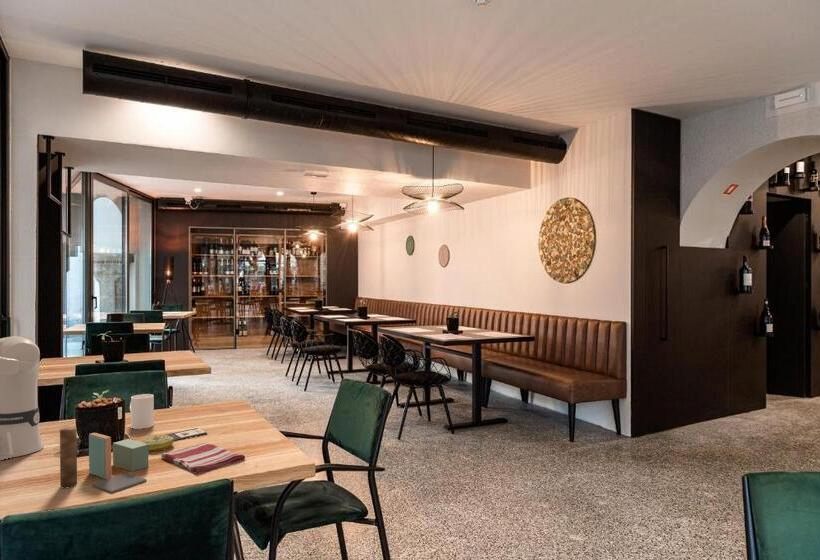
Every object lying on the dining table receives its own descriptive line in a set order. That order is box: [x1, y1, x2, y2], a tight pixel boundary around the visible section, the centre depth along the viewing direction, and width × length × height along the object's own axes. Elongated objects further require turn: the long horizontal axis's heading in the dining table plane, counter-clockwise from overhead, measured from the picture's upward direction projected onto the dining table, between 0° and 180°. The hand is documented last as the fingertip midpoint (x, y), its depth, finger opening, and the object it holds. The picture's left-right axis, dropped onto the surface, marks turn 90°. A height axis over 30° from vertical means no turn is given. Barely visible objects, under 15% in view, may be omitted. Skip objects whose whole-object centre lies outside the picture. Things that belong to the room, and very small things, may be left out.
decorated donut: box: [140, 434, 175, 453], centre depth 185 cm, size 10×11×4 cm
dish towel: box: [160, 442, 246, 475], centre depth 173 cm, size 17×23×3 cm
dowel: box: [59, 426, 78, 489], centre depth 152 cm, size 4×4×16 cm
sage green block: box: [112, 438, 149, 472], centre depth 167 cm, size 5×11×7 cm, turn 58°
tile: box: [88, 432, 112, 480], centre depth 159 cm, size 2×9×12 cm, turn 58°
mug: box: [129, 393, 155, 430], centre depth 213 cm, size 12×8×12 cm
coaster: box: [92, 472, 147, 494], centre depth 153 cm, size 10×10×1 cm
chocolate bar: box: [165, 427, 208, 442], centre depth 197 cm, size 9×1×18 cm
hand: (23, 363), depth 142 cm, fingers open, 8 cm apart
